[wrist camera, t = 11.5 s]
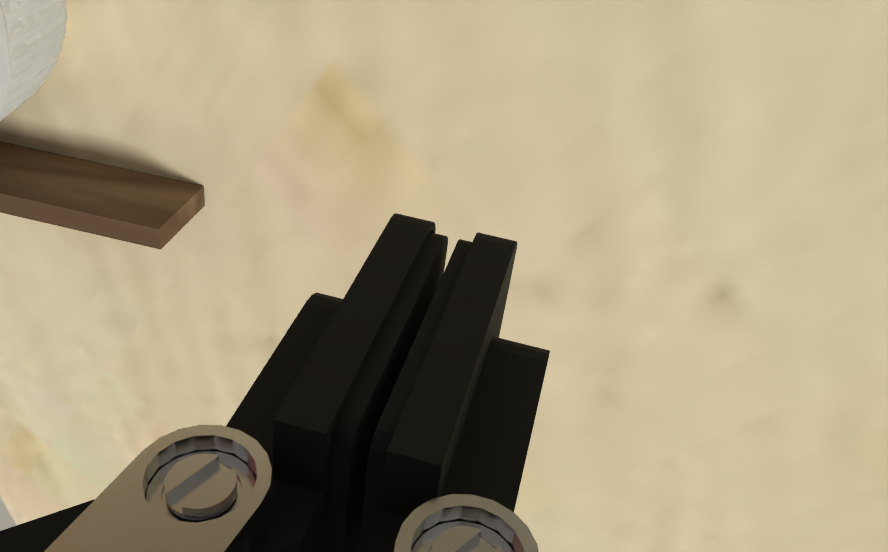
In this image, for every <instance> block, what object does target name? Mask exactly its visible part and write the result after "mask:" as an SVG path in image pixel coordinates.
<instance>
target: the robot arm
mask: <svg viewBox="0 0 888 552" xmlns="http://www.w3.org/2000/svg"><path fill="white" fill-rule="evenodd" d="M447 245H448V237H447V236H443V235H439V234H435V223H434V222H431V221H426V220H422V219H418V218H414V217H409V216H405V215H401V214H394V215H393V216H392V217H391V219H390V220H389V222H388V224H387V225H386V227H385V229H384V231H383V232H382V234H381V236H380V237H379V239H378V241H377V243H376V244H375V246H374V248H373V249H372V251H371V253H370V254H369V256H368V258H367V260H366V261H365V263H364V265H363V266H362V268H361V270H360V272H359V273H358V275H357V277H356V278H355V280H354V282H353V283H352V285H351V287H350V289H349V290H348V292H347V294H346V295H345V297H344V299H340V298H336V297H332V296H328V295H324V294H320V293H315V294H313V295H311V297H310V298H309V299H308V300H307V302H306V303H305V305H304V306H303V308H302V309H301V311H300V312H299V314H298V316H297V317H296V319H295V320H294V322H293V323H292V325H291V326H290V328H289V329H288V331H287V333H286V334H285V336H284V337H283V339H282V340H281V342H280V343H279V345H278V347H277V348H276V350H275V351H274V353H273V354H272V356H271V357H270V359H269V360H268V362H267V364H266V365H265V367H264V368H263V370H262V371H261V373H260V374H259V376H258V378H257V379H256V381H255V382H254V384H253V385H252V387H251V388H250V390H249V391H248V393H247V395H246V396H245V398H244V399H243V401H242V402H241V404H240V405H239V407H238V409H237V410H236V412H235V413H234V415H233V416H232V418H231V419H230V421H229V422H228V424H227V426H222V425H197V426H192V427H187V428H182V429H178V430H176V431H174V432H172V433H169V434H167V435H165V436H163V437H160V438H159V439H157V440H156V441H155V442H153V443H152V444H151V445H150V446H148V447H147V448H146V449H144V450H143V451H142V452H141V453H140V454H139V455H138V456H137V457H136V458H135V459H134V460H133V461H132V462H131V463H130V464H129V465H128V466H127V467H126V468H125V469H124V470H123V471H122V472H121V473H120V475H119V476H118V477H117V478H116V479H115V480H114V481H113V482H112V483H111V484H110V485H109V486H108V487H107V488H106V489H105V490H104V491H103V492H102V493H101V494H100V495H99V496H98V497H97V498H96V499H94V500H91V501H88V502H85V503H82V504H79V505H76V506H74V507H71V508H68V509H65V510H62V511H59V512H56V513H53V514H50V515H47V516H44V517H41V518H38V519H35V520H32V521H29V522H26V523H23V524H20V525H17V526H14V527H11V528H8V529H5V530H2V531H0V552H538V546H537V543H536V541H535V539H534V538H533V536H532V534H531V532H530V530H529V528H528V527H527V525H526V524H525V523H524V522H523V521H522V520H521V519H520V518H519V517H518V516H517V515H516V514H515V513H514V509H515V504H516V500H517V495H518V491H519V486H520V482H521V478H522V473H523V469H524V464H525V460H526V455H527V451H528V446H529V442H530V438H531V433H532V429H533V424H534V420H535V415H536V411H537V406H538V402H539V398H540V393H541V389H542V384H543V380H544V375H545V371H546V366H547V362H548V357H549V353H550V351H549V350H545V349H541V348H537V347H533V346H529V345H525V344H521V343H517V342H513V341H509V340H505V339H501V338H499V334H500V329H501V324H502V319H503V314H504V309H505V304H506V299H507V294H508V289H509V284H510V279H511V274H512V269H513V264H514V259H515V254H516V249H517V242H516V241H512V240H508V239H504V238H499V237H495V236H491V235H486V234H482V233H477V234H476V236H475V238H474V240H473V242H469V241H465V240H458V242H457V244H456V247H455V249H454V251H453V253H452V256H451V258H450V260H449V263H448V265H447V267H446V269H445V272H444V267H445V259H446V252H447Z"/></svg>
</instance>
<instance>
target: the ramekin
mask: <svg viewBox="0 0 888 552" xmlns="http://www.w3.org/2000/svg"><path fill="white" fill-rule="evenodd" d="M66 20H67V12H66V0H0V121H1V120H2V119H4V118H5V117H6V116H7V115H9V114H10V113H11V112H12V111H14V110H15V109H16V108H17V107H19V106H20V105H21V104H22V103H24V102H25V101H26V100H27V99H28V98H30V97H31V96H32V95H33V94H34V93H35V92H36V91H37V89H38V88H39V87H40V85H42V84H43V83H44V81H45V80H46V79H47V77H48V75H49V73H50V72H51V71H52V70H53V69H54V67H55V65H56V61H57V57H58V56H59V55H60V53H61V50H62V41H63V39H64V37H65V25H66Z"/></svg>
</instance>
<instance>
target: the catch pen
mask: <svg viewBox="0 0 888 552" xmlns="http://www.w3.org/2000/svg"><path fill="white" fill-rule="evenodd" d="M204 206H205V200H204V186H200V185H195V184H191V183H186V182H182V181H177V180H173V179H168V178H163V177H159V176H154V175H150V174H145V173H140V172H136V171H131V170H127V169H122V168H118V167H113V166H108V165H104V164H99V163H95V162H90V161H85V160H81V159H76V158H72V157H67V156H63V155H58V154H53V153H49V152H44V151H40V150H35V149H30V148H26V147H21V146H17V145H12V144H8V143H3V142H0V212H1V213H5V214H10V215H14V216H18V217H23V218H27V219H31V220H36V221H40V222H44V223H49V224H53V225H57V226H62V227H66V228H70V229H75V230H79V231H83V232H88V233H92V234H96V235H101V236H105V237H109V238H114V239H118V240H122V241H127V242H131V243H135V244H140V245H144V246H148V247H153V248H157V249H162V248H163V247H164V246H165V245H166V244H167V243H168V242H169V241H170V240H171V239H172V238H173V237H174V236H175V235H176V234H177V233H178V232H179V231H180V230H181V229H182V228H183V227H184V226H185V225H186V224H187V223H188V222H189V221H190V220H191V219H192V218H193V217H194V216H195V215H196V214H197V213H198V212H199V211H200V210H201V209H202V208H203V207H204Z"/></svg>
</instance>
